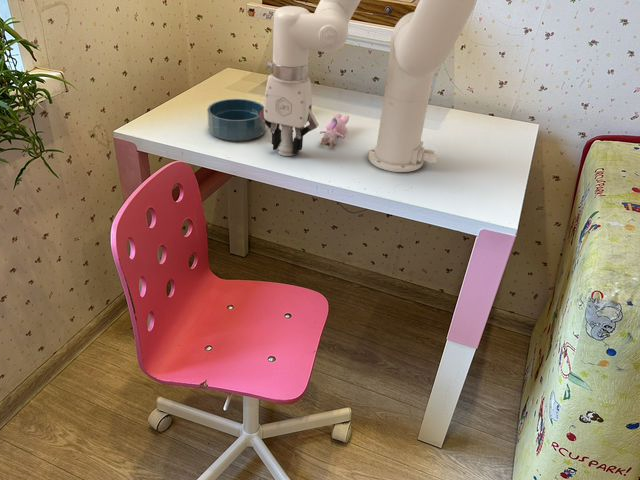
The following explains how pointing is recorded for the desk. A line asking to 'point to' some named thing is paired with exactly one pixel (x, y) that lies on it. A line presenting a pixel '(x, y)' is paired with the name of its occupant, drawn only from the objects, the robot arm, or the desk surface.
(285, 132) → the rook chess piece
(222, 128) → the bowl
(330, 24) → the robot arm
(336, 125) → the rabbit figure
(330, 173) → the desk surface
